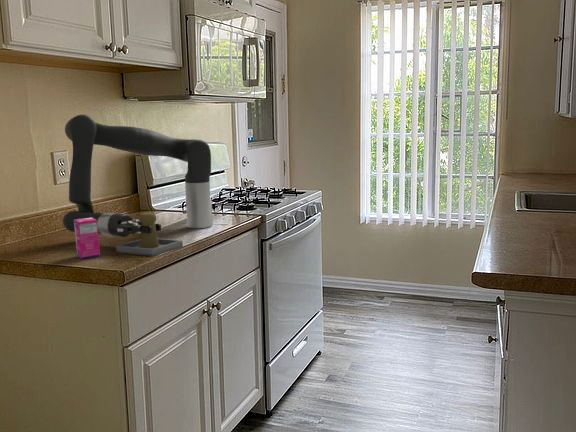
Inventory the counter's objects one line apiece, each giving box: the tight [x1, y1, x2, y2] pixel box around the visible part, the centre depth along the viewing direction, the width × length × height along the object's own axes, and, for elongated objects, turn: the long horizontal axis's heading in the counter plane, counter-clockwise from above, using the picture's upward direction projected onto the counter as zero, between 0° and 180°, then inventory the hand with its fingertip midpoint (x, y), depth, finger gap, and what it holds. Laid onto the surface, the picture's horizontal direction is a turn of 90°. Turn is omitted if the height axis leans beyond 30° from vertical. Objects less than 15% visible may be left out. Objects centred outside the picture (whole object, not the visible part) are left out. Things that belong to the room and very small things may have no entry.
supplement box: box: [74, 218, 101, 260], centre depth 181 cm, size 6×6×12 cm
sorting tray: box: [115, 237, 184, 257], centre depth 189 cm, size 15×15×2 cm
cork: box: [139, 211, 159, 249], centre depth 189 cm, size 6×6×11 cm
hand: (155, 228), depth 187 cm, fingers closed on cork, 3 cm apart
